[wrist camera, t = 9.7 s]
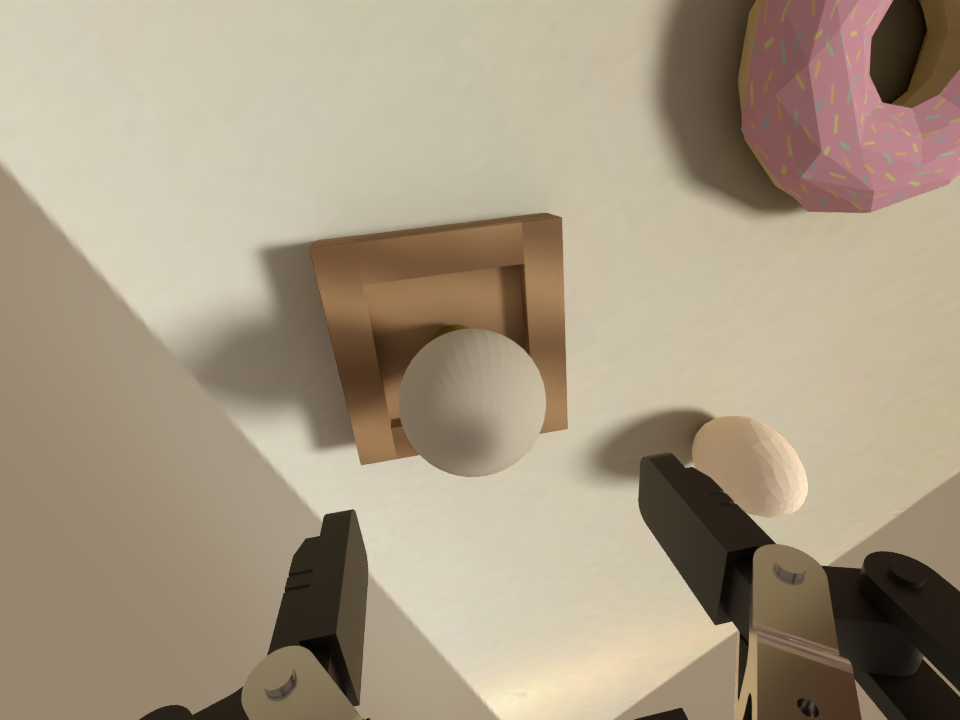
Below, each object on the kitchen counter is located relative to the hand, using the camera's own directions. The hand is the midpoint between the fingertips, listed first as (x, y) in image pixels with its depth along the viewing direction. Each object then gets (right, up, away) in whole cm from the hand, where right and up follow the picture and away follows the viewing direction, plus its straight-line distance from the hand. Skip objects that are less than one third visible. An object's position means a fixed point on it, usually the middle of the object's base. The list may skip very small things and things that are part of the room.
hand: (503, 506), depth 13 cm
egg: (+15, -1, +20) cm, 25 cm away
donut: (+19, +20, +12) cm, 30 cm away
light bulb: (-2, +5, +13) cm, 14 cm away
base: (-2, +6, +14) cm, 15 cm away
